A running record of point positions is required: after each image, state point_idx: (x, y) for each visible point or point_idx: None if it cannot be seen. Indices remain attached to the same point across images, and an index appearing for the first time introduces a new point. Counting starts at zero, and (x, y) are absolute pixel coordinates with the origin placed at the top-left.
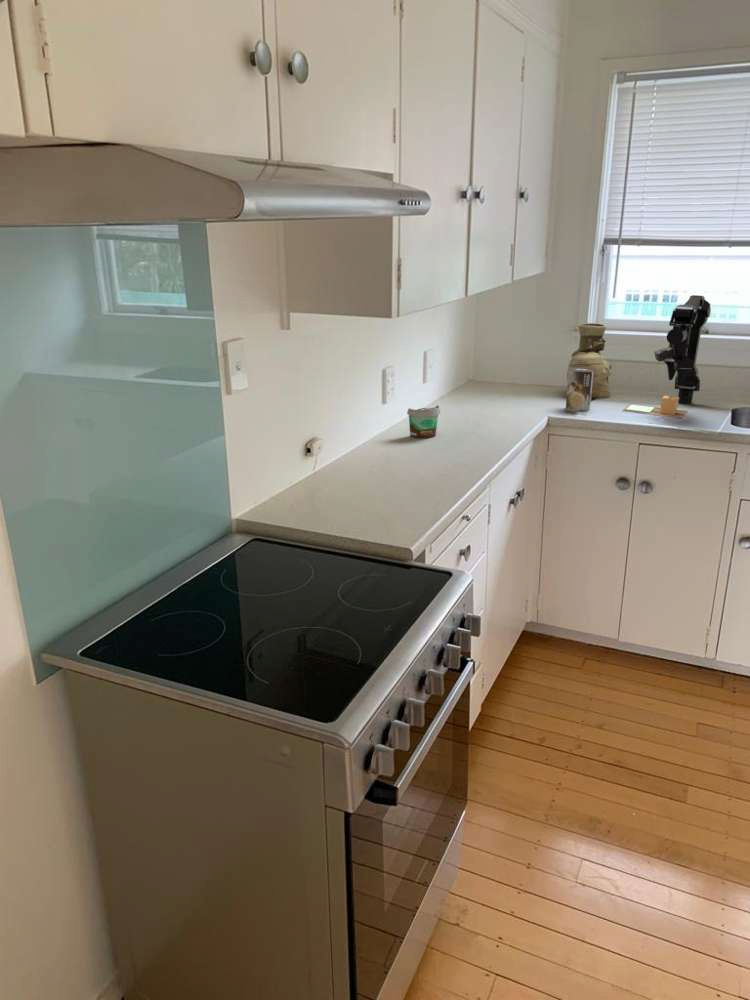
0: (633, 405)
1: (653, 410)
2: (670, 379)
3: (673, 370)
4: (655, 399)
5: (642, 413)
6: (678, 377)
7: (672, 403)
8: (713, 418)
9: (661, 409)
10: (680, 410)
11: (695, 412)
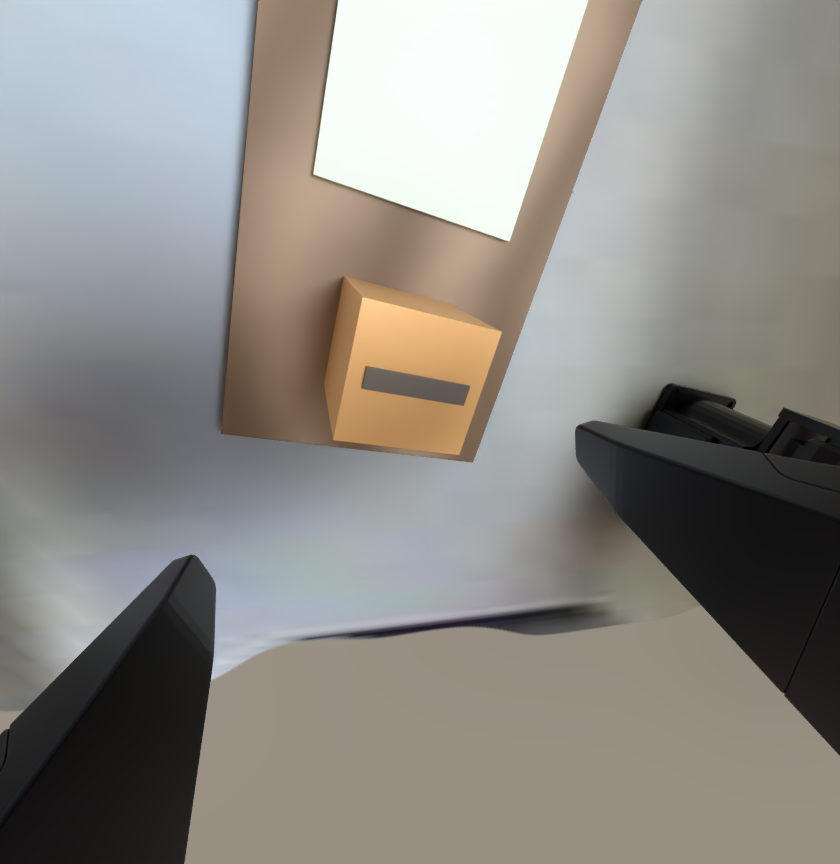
0: (558, 12)
1: (433, 224)
2: (579, 444)
3: (712, 568)
4: (803, 273)
5: (265, 85)
6: (28, 733)
7: (335, 393)
8: (392, 569)
9: (345, 289)
10: (480, 421)
11: (506, 488)
